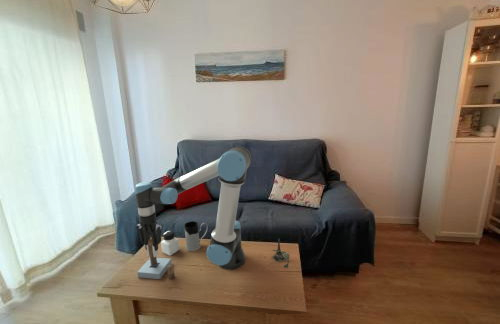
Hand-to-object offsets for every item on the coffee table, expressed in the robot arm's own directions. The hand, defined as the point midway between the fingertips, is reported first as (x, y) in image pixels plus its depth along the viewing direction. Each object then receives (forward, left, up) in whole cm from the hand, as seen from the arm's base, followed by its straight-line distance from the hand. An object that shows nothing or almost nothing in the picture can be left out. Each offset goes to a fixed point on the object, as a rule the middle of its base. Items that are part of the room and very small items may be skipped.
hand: (152, 255), depth 122 cm
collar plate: (0, 0, -9) cm, 9 cm away
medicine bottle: (0, -17, -9) cm, 19 cm away
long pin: (0, 0, -5) cm, 5 cm away
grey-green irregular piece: (-64, -17, -10) cm, 67 cm away
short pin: (-11, +4, -9) cm, 15 cm away
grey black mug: (-14, -24, -9) cm, 29 cm away
